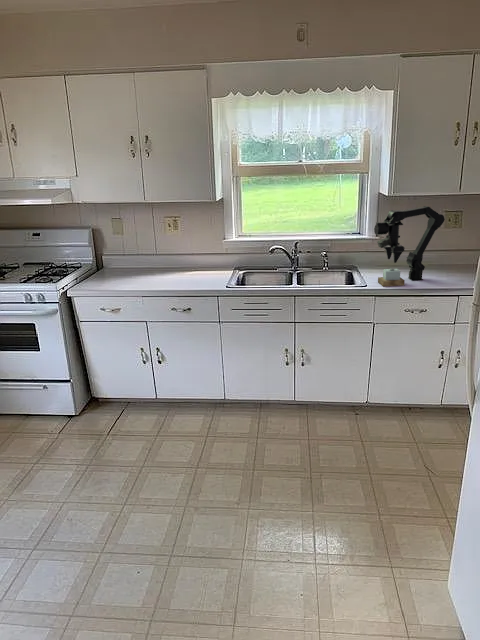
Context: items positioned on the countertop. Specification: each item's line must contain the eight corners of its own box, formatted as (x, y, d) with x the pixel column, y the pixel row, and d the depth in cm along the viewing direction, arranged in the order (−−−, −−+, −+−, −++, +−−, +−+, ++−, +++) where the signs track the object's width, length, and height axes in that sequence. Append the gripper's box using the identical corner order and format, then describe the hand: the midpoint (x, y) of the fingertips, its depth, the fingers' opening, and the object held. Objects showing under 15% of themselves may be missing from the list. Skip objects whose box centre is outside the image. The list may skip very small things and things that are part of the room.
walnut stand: (398, 281, 274) (398, 276, 273) (404, 285, 266) (404, 280, 265) (377, 282, 274) (378, 277, 273) (383, 286, 265) (383, 281, 264)
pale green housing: (382, 277, 272) (383, 268, 270) (396, 277, 271) (397, 267, 270) (385, 280, 266) (386, 270, 264) (399, 279, 266) (400, 270, 264)
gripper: (373, 231, 274) (372, 258, 280) (385, 237, 257) (384, 265, 262) (392, 230, 275) (390, 257, 280) (405, 236, 257) (403, 264, 263)
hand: (391, 260), depth 271 cm, fingers open, 9 cm apart
